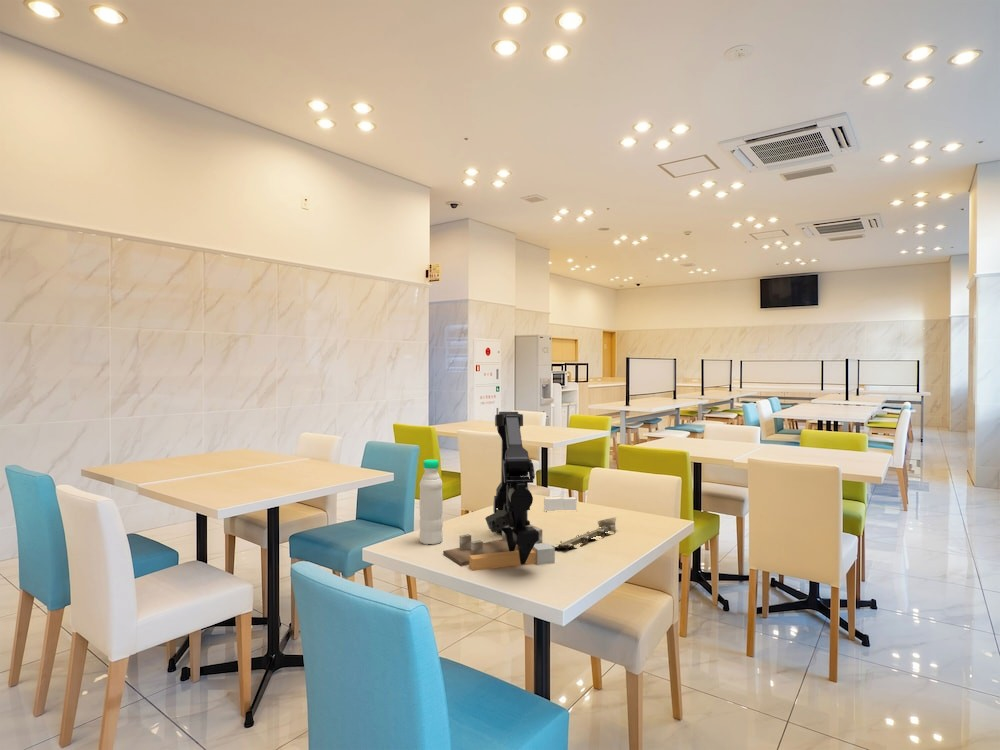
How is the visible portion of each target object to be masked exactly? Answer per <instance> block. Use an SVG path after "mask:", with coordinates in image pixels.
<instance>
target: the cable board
mask: <svg viewBox="0 0 1000 750" xmlns="http://www.w3.org/2000/svg"><path fill="white" fill-rule="evenodd" d="M530 526H532V527H533V528H534V529H536V530H537V531H538V532H539V541H537V543H535V544H540V543H543V529H542V528H540V527H537V526H535V525H532V524H530V525H527V526H525V527H530ZM508 551H509V548H508V544H507V540H506V536H505V533H504V532H503V531H502V535H501V539H496V540H492V541H487V542H484V540H483V541H482V540H481V539H480V540H473V541H472V535H471V534H470V533H466V534H461V535H459V547H457V548H456V547H455V548H451V549H446V550H443V552H442V554H443V555H444V556H445V557H446V558H448V559H450V560H451V561H453V562H454V563H456V564H458V565H459V566H460V567H463V566H468V565H469V555H479V554H489V553H499V552H508ZM514 551H518V545H517V544H516V547H515V550H514Z"/></svg>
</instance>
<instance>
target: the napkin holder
mask: <svg viewBox="0 0 1000 750" xmlns="http://www.w3.org/2000/svg"><path fill="white" fill-rule="evenodd" d="M543 507H544V508H543V510H544V509H545V510H546V511H555V510H576V511H577V498H576V497H574V496H573V497H572V496H571V497H563V496H558V497H557V496H556V497H555V496H554V497H544V500H543Z"/></svg>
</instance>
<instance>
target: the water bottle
mask: <svg viewBox="0 0 1000 750" xmlns="http://www.w3.org/2000/svg"><path fill="white" fill-rule="evenodd" d="M422 462H423V463H422V466H423V470H424V473H423V475H422V477H421V480H420V481H419V517H420V519H419V542H420V543H421V544H423V545H428V544H432V545H437V544H439V543H442V541H443V540H444V538H443V537H444V535H443V526H444V525H443V505H444V503H443V500H444V499H443V480H442V478H441V476H440V473H439V472H438V470H439V465H440V463H439V460H438V459H425V460H423V461H422Z"/></svg>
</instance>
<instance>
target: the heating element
mask: <svg viewBox="0 0 1000 750" xmlns="http://www.w3.org/2000/svg"><path fill="white" fill-rule="evenodd" d="M616 521H617V516H615V517H610V518H606V519H602V520H601V519H599V520H597V524H598V528H596V529H594V530H592V531H591V530H589V531H591V532H589V531H586V532H585V533H582V534H583V535H582V534H577V535H576V536H575V537H573V538H570V539H569V540H566V541H563V540H560V541H559V543H556V544H555V545H552V544H550V545H551V546H553V547H554V548H555V549H559V550H564V549H565V550H568V549H572V550H573V549H574V550H575V549H576V547H575V546H577V544H578V545H580V546H579V548H582V547H583V546H584V544H587V543H588V541H595V540H594V539H591V538H593V537H596V536H601V537H603V538H604V537H605V535H609V534H608V533H605V532H608V531H614V532H615V533H616V531H617V530H616ZM599 527H601V528H599ZM579 535H580V536H579ZM577 536H578V537H577ZM579 543H580V544H579ZM574 545H575V546H574Z"/></svg>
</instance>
